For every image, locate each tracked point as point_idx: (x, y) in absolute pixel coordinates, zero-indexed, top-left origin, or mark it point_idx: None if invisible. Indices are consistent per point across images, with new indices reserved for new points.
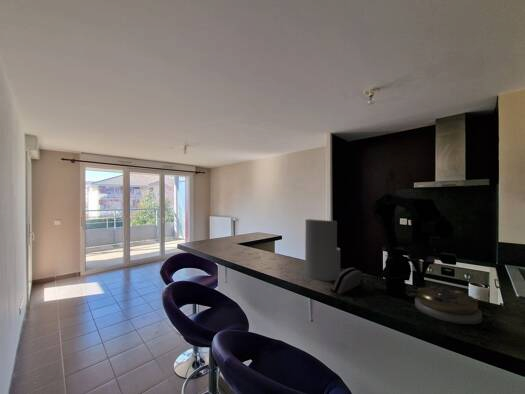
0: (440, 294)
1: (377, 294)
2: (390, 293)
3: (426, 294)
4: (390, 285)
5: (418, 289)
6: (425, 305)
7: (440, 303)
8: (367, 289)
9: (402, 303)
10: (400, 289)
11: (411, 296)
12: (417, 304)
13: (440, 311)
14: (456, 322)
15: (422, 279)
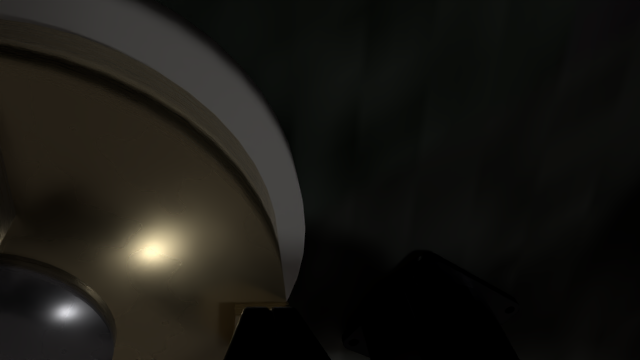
0: (41, 288)
1: (566, 245)
2: (475, 291)
3: (197, 240)
4: (505, 348)
5: None
6: None
7: (10, 60)
8: (619, 296)
9: (395, 174)
10: (421, 332)
11: None
12: (282, 140)
13: None
14: None
15: (243, 327)
